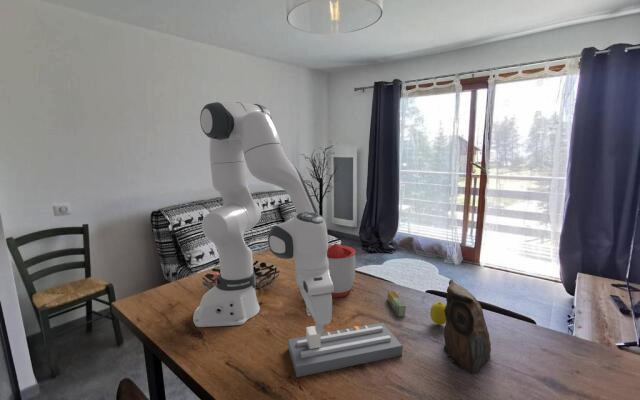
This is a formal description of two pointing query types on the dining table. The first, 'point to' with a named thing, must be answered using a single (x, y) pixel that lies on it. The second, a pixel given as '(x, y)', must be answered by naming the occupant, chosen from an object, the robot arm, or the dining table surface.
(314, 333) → the fader
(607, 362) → the dining table surface
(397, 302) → the medication box
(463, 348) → the owl
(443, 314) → the lemon
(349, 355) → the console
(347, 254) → the citrus juicer
